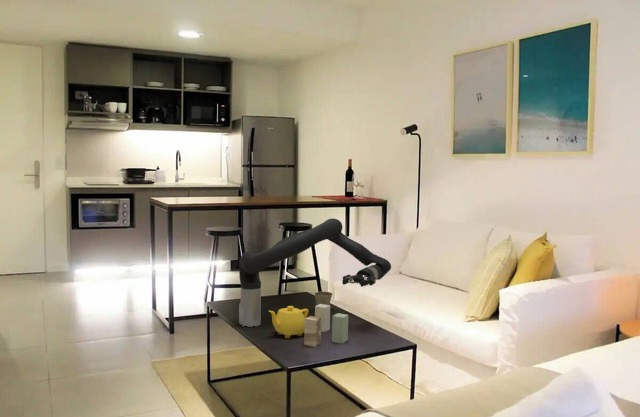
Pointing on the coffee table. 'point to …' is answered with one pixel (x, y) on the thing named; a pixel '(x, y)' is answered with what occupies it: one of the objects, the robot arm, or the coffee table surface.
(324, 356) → the coffee table surface
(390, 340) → the coffee table surface
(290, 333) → the teapot
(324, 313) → the offwhite pillar
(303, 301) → the coffee table surface
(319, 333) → the birch pillar
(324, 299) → the flower pot
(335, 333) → the sage pillar
